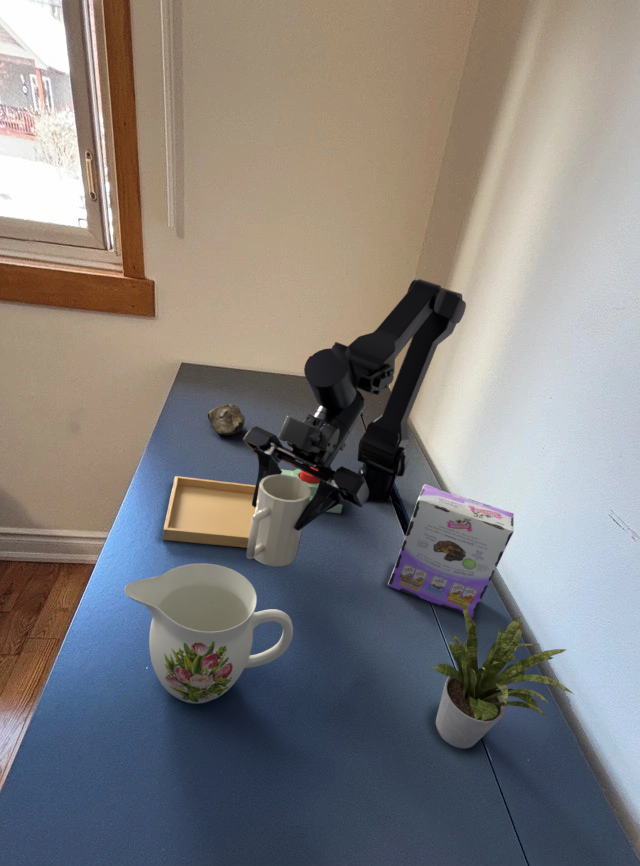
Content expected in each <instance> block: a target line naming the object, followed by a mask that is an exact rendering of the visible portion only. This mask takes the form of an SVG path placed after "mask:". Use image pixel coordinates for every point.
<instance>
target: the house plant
mask: <svg viewBox="0 0 640 866" xmlns="http://www.w3.org/2000/svg"><path fill="white" fill-rule="evenodd" d="M461 604H462V601H461ZM462 608H463V613H464V614H463V615H464V616H463V617H464V625H465V631H466V641H465V643H464V644H463V643H462V642H461V640H460V639H459V638H458V637H457V636H456V635H453V634H452V633H450V636H451V638H452V639H453V641H454V642H452V641H449V645H448V646H449V651H450V653H451V655H452V657H453V659H454V662H455V663H456V665H457V668H458V669H456V668H455V667H454V666H452V665H450V664H448V663H440V664H437V665H434V666H431V667H430V669H434V670H435V671H437V672H438V673H440V674H442V675H443V676H445V677H446V676H447V678H446V679H445V682H444V685H443V688H442V689H443V690H442V693H441V698H440V702H439V706H438V709H437V712H436V713H437V714H436V718H435V727H436V729H437V732H438V734H439V735H440V737H441V738H442V739H443V740H444V741H445V742H446V743H447V744H449V745H450V746H452V747H455V748H458V749H471V748H472V747H473V746H475V745H476V744H477V743H478V742H479V741H480V740H481V739H482V738H483V737H484V736H485V735H486V734H487V733H488V732H489V731H490V730H491V729H492V728H493V727H494V726H495V725H496V724H498V722H499V721H500V720H502V718H503V717H504V716H505V714H506V710H507V709H506V706H508V707H509V706H510V707H520V708H525V709H530V710H532V711H536V712H538V713H539V714H540V715H542V716H545V717H548V715H547V714H546V713H545V712H544V711H543V710H541V709H540V708H539V707H538V704H537V700H535V698H534V697H536V698H539V700H542V701H543V702H545V703H547V704H549V701H548V700H547V699H546V698H545V697H544V696H543V695H541V694H540V693H539V692H538V691H535V690H532V689H528V688H508V686H507V685H510V684H514V683H519V682H536V683H542V684H548V685H552V686H556V687H557V688H560V690H563V691H565V692H568V693H570V694H573V695H574V692H572V691H571V690H570V689H569V688H567V687H566V685H564V684H563V683H561V682H559V681H558V680H555V679H554V678H551V677H549V676H546V675H541V674H525V673H526V671H527V669H529V668H532V667H534V666H537V665H539V664H540V663H543V662H545V661H549V660H552V659H554V657H553V656H555V655H559V654H562V653H564V652H566V651H567V649H565V648H564V649H563V648H561V649H560V648H559V649H558V648H557V649H549V650H544V651H540V652H538V653H535V654H532V655H530V656H527V657H524V658H523V659H521V660H518V661H516V662H515V663H514V664H510V665H508V666H507V667H506V665H507V664H508V663H509V662H513V661H515V660H516V659H517V657H516V656H514V654H515V652H516V650H517V648H518V647H526V646H529V647H530V646H536V645H539V643H522V642H521V643H520V640H521V637H522V634H523V623H524V622H521V617H522V615H520V616H517V617H516V618H515V619H514V620H512V621H511V622H510V623H509V624H508V626H507V627H506V628H505V629H504V630H503V632H502V630H501V628H500V625H498V627H497V628H498V629H497V636H496V641H495V642H494V644H492V646H491V647H490V648H489V650H488V653H487V657H486V658H485V660H484V661H483V663H482V665H481V667H479V662H478V661H479V659H478V649H479V646H478V645H479V643H478V641H479V640H478V631H477V626H476V624H475V621H474V620H473V617H471V616H470V613H469V611H468V609H467V608H466V607H465V606H464V605H463V604H462ZM533 696H534V697H533ZM509 697H512V698H517V699H519V700H513V701H508V698H509ZM520 700H521V701H520Z"/></svg>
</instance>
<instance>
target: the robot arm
mask: <svg viewBox="0 0 640 866" xmlns="http://www.w3.org/2000/svg"><path fill="white" fill-rule="evenodd" d="M466 308H467V302H465V300H463V294H462V293H460V292H457V291H454V290H450V289H447V288H444V287H442V285H440V284H437V283H434V282H431V281H428V280H424V279H421V278H418V279H413V280H412V281H411V283H410V284H409V287H408V289H407V292H406V294H405V295H403V297H402V298H401V299H400V301H398V303H397V304H396V306H394V307H393V309H392V310H391V311H390V312H389V314H388V315H387V316H386V317H385V318H384V319H383V321H382V322H381V323H380V324H379V325H378V327H377V328H376V329H375V330H374V331H372V332H370V333H366V334H363V335H360V336H357V337H356V338H355V339H354V340H353V341H352V342H351V343H349V344H348V345H345V344H342V343H340V342H338V341H335V342H334V343H333V345H332V347H331V348H323V349H321V350H318V351H316V352H314V353H313V354H311V355H310V356H309V357H308V358H307V360H306V361H305V364H304V368H303V371H304V376H305V380H306V381H307V384H308V386H309V388H310V390H311V392H312V394H313V397H314V398H315V401H316V402H317V404H318V406H317V408H316V410H315V412H314V413H313V414H310V413H309V414H308V415H306V416H305V418H304V420H303V421H302V420H300V419H297V418H294V417H292V416H289V415H287V416H286V417H285V419H284V422H283V424H282V426H281V429H280V431H279V434H278V436H277V434H274V433H272V432H270V431H268V430H265V429H263V428H262V427H259V426H258V425H257V426H254V427H252V428H250V429H248V430H247V432H246V433H245V435H244V437H243V438H242V441H243V442H244V443H245V444H246V445H247V447H248V448H249V449H250V450H251V452H252V453H253V454H254V455H255V456H256V458H257V461H258V471H257V479H256V483H255V485H256V487H255V492H254V496H253V501H252V506H253V507H254V508H256V503H257V496H258V490H259V484H260V482H261V480H262V479H263V478H265V477H267V476H269V475H275V474H279V475H281V473H282V471H281V469H282V468H280V467H279V464H280V463H281V462H284V463H286V464H288V465H290V466H292V467H294V468H295V469H300V470H302V471H304V472H306V473H308V474H310V475H312V476H314V477H316V478H318V479H320V483H319V486H318V488H317V491H316V494H315V495H314V497H313V498H312V500H311V501H310V503H309V504H308V506H307V507H306V509H305V510H304V512H303V513H302V514H301V516H300V517H299V519H298V521H297V523H296V525H295V529H296V530H297V531H299V530H300V529H302V528H303V529H304V528H305V527H306V526H307V525H308V524H310V523H312V522H313V521H314V520H315V519H317V518H318V517H319V516H321V515H323V514H324V513H327V512H326V511H328V510H329V509H331V508H333V507H335V506H336V505H338V504H341V505H343V506H346V505H347V503H350V504H353V505H355V506H356V507H359V508H363V507H364V505H365V504H366V502H367V501H375V502H383V503H384V502H385V503H392V502H393V499H392V496H391V493H392V491H393V488H394V484H395V482H396V478H397V477H404V475H405V473H406V469H407V467H408V464H409V457H408V451H407V450H408V449H407V446H408V444H409V443H408V442H409V440H410V437H409V432H408V431H409V430H408V425H407V423H408V420H409V417H410V415H411V412H412V409H413V408H414V404H415V402H416V399H417V397H418V395H419V393H420V390H421V387H422V385H423V383H424V380H425V378H426V375H427V373H428V370H429V368H430V365H431V362H432V360H433V357H434V355H435V353H436V350H437V348H438V346H439V345H440V344H441V343H442V342H444V341H445V340H446V339H447V338H448V337H450V336H452V334H453V333H454V331H455V328H456V326H457V325H458V324H459V323H461V321H462V319H463V318H464V317H463V316H464V314H465V312H466ZM408 343H409V344H408ZM407 344H408V347H407V350H406V352H405V355H404V356H403V357H404V358H403V360H402V363H401V365H400V368H399V371H398V373H397V376H396V378H395V377H394V375H395V372H396V371H395V370H396V359H397V357H398V356H399V355H400V353H401V352H402V351H403V349H404V348H405V347H406V345H407ZM394 378H395V381H394ZM393 381H394V383H393ZM392 383H393V386H392V388H391V391H390V394H389V395H388V399H387V401H386V404H385V406H384V410H383V411H382V413H381V415H380V416H379V417H377V418H376V419H375V420H374V421H370V422H369V423H368V424H367V426H366V429H365V432H363V434H362V436H361V437H360V440H359V442H358V449H357V450H358V451H357V462H360V463H362V466H360V467H359V468H358V471H357V472H355V471H354V470H351V469H349V468H347V467H345V466H342V465H341V466H340V467H338V468H336V470H333V469H332V467H331V465H332V463H333V462H334V461H335V458H336V457H337V455H338V454H339V452H340V451H342V452H343V451H344V449H345V448H346V447H347V445H346V440H347V438H348V436H349V435H350V434H351V432H352V430H353V428H354V427H355V425H356V423H357V422H358V420H359V418H360V417H364V416H365V414H366V403H365V401H366V399H365V397H364V395H362V393H361V392H360V391H363V392H365V393H367V394H368V393H369V394H371V395H374V396H375V395H376V396H378V395H380V394H381V393H382V392H383V391H385V390H386V389H388V388H389V386H390V385H391V384H392ZM281 441H282V442H286V444H287V445H288V447H289V448H291V449H289V448H287V447H285V446H284V445H283V444H282V442H281ZM310 467H313V468H315V469H317V470H318V471H317V470H314V469H312V468H310ZM324 481H325V482H324ZM326 482H327V483H326ZM343 506H342V507H343Z"/></svg>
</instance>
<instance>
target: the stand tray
mask: <svg viewBox="0 0 640 866" xmlns="http://www.w3.org/2000/svg"><path fill="white" fill-rule="evenodd" d="M172 484H173V485H172V489H171V493H170V497H169V501H168V507H167V511H166V516H165V519H164V524H163V529H162V540H163V541H171V542H172V541H173V542H183V543H193V544H201V545H202V544H203V545H215V546H224V547H225V546H226V547H233V548H234V547H236V548H244V549H247V545H248V539H249V532H250V526H251V519H252V516H253V515H254V514H255V509H256V508H254V507H253V506H252V501H253V496H254V492H255V487H256V484H255V485H254V484H246V483H239V482H229V481H220V480H212V479H204V478H196V477H188V476H179V475H175V476H174V479H173V483H172Z"/></svg>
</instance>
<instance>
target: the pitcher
mask: <svg viewBox="0 0 640 866" xmlns="http://www.w3.org/2000/svg"><path fill="white" fill-rule="evenodd" d="M124 595H126V596H127V597H128V598H129V599H131V600H132V601H134V602H136V603H139V604H141V605H144V606H145V608H147V610H148V612H150V614H151V616H152V619H151V623H150V627H149V635H148V636H149V638H148V639H149V641H148V642H149V644H148V646H149V655H150V660H151V661H150V662H151V665H152V668H153V670H154V673H155V675H156V677H157V679H158V681H159V682H160V684H161V685H162V687H163V688H164V689H165V690H166V692H168V693H169V694H170V695H171V696H173V697H174V698H176V699H177V700H180V701H182V702H183V703H184V702H185V703H188V704H204V703H208V702H210V701H212V700H213V701H214V700H215V699H218V698H220V697H221V696H223V695H224V694H225V693H227V692H228V691H229V690H230V689H231V688H232V687H233V686H234V685H235V684H236V682H237V681H238V680H239V678H240V677H241V675H242V673H243V672H244V669H251V668H256V667H261V666H264V665H267V664H269V663H271V662H273V661H276V659H278V658H279V657H281V656H283V655H284V653H285V652H286V651H287V650H288V648H289V647H290V645H291V643H292V640H293V636H294V626H293V622H292V618H290V615H288V614H287V613H286V612H284V611H282V610H280V609H275V608H270V609H269V608H268V609H263V610H259V611H255V610H256V607H257V604H258V595H257V592H256V589H255V588H254V585H253V584H252V583H251V582H250V580H249V579H248V578H247V577H246V576H244V575H242V574H241V573H240V572H238V571H236V570H235V569H232V568H230V567H227V566H224V565H220V564H213V563H199V562H198V563H189V564H184V565H183V564H182V565H180V566H177V567H174V568H171V569H170V570H168V571H166V572H164V573H162V574H159V575H157V576H152V577H145V578H141V579H137V580H134V581H131V582H129V583H128V584H126V585H125V587H124ZM271 622H272V623H277V624H279V625H280V627H281V628H282V634H281V636H280V639H279V640H278V642H277V643H275V644H274V645H272V646H271V647H270V648H269V649H266V650H264V651H262V652H258V653H255V654H251V652H252V648H253V641H254V629H255V628H256V627H258V626H259V625H261V624H265V623H271Z"/></svg>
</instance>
